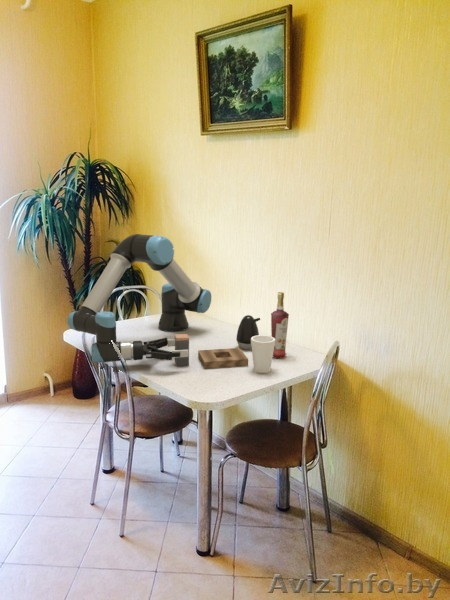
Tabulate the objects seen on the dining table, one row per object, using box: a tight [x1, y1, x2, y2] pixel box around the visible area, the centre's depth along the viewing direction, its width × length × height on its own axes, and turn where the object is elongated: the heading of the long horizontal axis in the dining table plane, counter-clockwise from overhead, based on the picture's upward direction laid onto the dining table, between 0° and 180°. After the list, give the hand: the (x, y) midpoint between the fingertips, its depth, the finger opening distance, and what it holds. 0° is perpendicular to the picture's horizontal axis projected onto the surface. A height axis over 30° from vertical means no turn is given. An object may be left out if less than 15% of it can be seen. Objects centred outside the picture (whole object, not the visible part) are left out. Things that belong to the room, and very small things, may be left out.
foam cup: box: [251, 334, 275, 374], centre depth 189 cm, size 10×9×13 cm
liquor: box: [270, 291, 290, 359], centre depth 203 cm, size 7×7×28 cm
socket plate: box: [197, 347, 249, 370], centre depth 199 cm, size 18×14×3 cm
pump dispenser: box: [236, 314, 261, 351], centre depth 215 cm, size 10×10×15 cm
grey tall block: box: [174, 333, 190, 368], centre depth 194 cm, size 5×5×12 cm
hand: (185, 347), depth 194 cm, fingers open, 13 cm apart
